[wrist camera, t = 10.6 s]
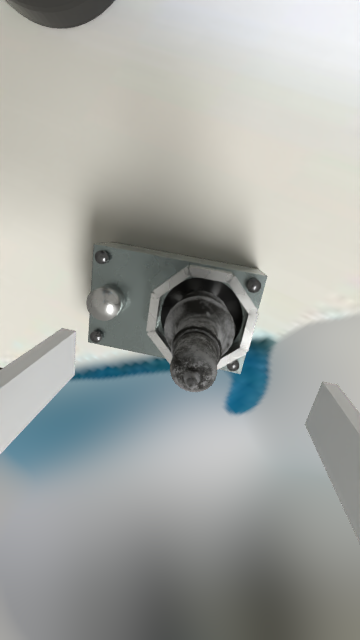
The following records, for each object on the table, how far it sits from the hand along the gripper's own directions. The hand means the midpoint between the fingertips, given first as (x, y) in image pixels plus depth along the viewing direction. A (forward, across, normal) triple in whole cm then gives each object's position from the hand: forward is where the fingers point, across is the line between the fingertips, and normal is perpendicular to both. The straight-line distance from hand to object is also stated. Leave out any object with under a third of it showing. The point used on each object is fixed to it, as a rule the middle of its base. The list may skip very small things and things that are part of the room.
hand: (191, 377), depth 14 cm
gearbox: (+17, -3, -1) cm, 17 cm away
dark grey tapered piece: (+12, 0, -1) cm, 12 cm away
